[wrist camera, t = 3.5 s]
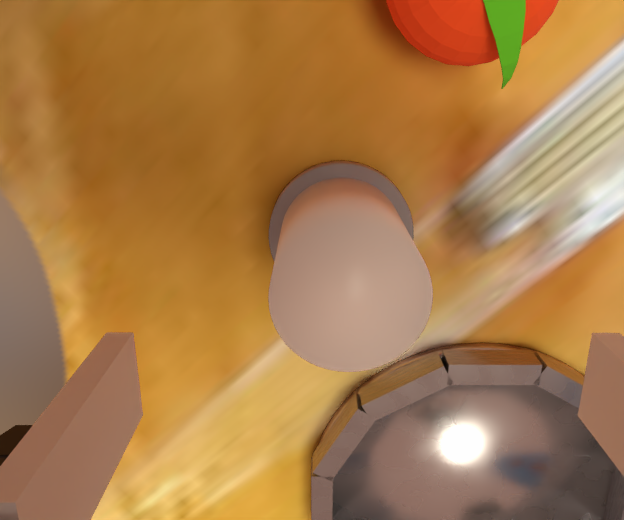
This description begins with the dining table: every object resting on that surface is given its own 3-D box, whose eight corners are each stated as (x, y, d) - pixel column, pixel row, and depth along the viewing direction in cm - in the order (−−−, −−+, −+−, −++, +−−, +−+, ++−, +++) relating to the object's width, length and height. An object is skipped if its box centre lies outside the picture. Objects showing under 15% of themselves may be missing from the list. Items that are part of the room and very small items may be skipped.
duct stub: (272, 294, 30) (255, 385, 22) (268, 160, 28) (248, 203, 19) (405, 294, 30) (441, 385, 22) (413, 160, 28) (457, 203, 19)
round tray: (312, 595, 37) (311, 630, 35) (311, 342, 31) (311, 364, 29) (596, 596, 37) (614, 631, 35) (654, 342, 31) (680, 364, 29)
